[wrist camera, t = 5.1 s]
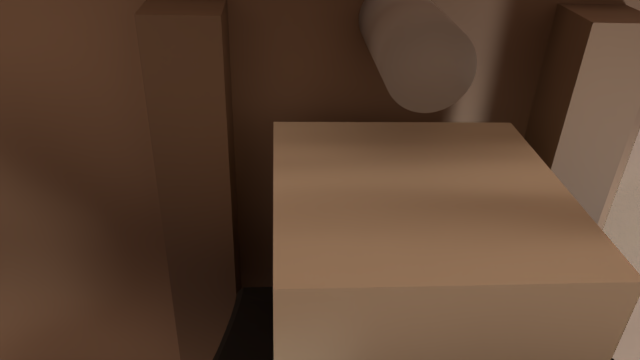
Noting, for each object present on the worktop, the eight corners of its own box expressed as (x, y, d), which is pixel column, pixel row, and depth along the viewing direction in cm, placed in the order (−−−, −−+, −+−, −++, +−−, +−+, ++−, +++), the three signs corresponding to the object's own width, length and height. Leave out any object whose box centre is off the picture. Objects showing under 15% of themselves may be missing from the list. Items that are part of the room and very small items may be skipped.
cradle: (516, 397, 16) (571, 522, 13) (-217, 425, 15) (-343, 573, 12) (660, -36, 10) (822, 14, 7) (-577, -70, 8) (-1041, -24, 6)
